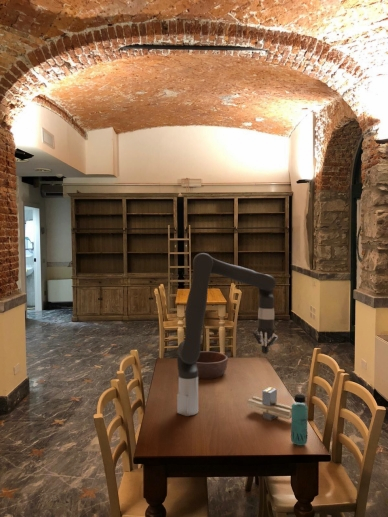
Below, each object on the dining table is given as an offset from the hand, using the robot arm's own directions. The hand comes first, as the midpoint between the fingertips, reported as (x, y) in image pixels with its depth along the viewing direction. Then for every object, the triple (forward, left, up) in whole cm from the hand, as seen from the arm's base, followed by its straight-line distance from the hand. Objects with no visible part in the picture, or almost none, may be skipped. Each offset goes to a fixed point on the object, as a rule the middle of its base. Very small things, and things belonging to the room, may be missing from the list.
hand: (265, 353), depth 197 cm
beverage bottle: (-21, -27, -27) cm, 44 cm away
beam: (-6, -6, -27) cm, 28 cm away
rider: (-6, -6, -22) cm, 24 cm away
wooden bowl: (+23, +53, -28) cm, 64 cm away
